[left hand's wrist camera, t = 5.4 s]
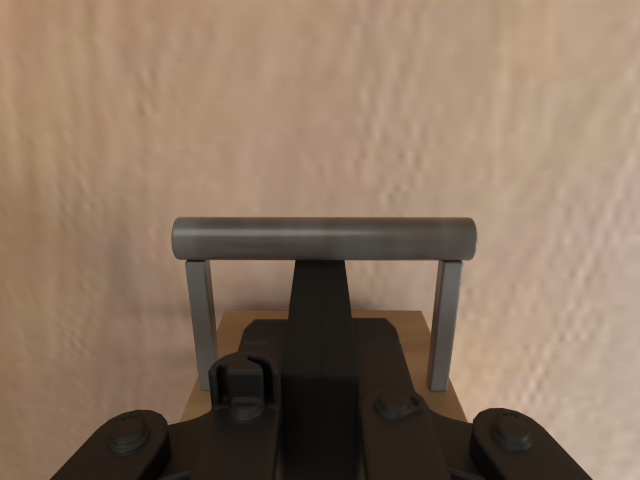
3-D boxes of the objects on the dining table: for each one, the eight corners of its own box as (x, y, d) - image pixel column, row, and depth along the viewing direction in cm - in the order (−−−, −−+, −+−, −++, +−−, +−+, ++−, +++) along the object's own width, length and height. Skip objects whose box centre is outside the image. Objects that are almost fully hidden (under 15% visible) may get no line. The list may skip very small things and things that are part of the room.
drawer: (213, 178, 17) (144, 245, 11) (434, 178, 17) (505, 246, 11) (246, 550, 25) (218, 726, 18) (399, 551, 25) (427, 727, 18)
